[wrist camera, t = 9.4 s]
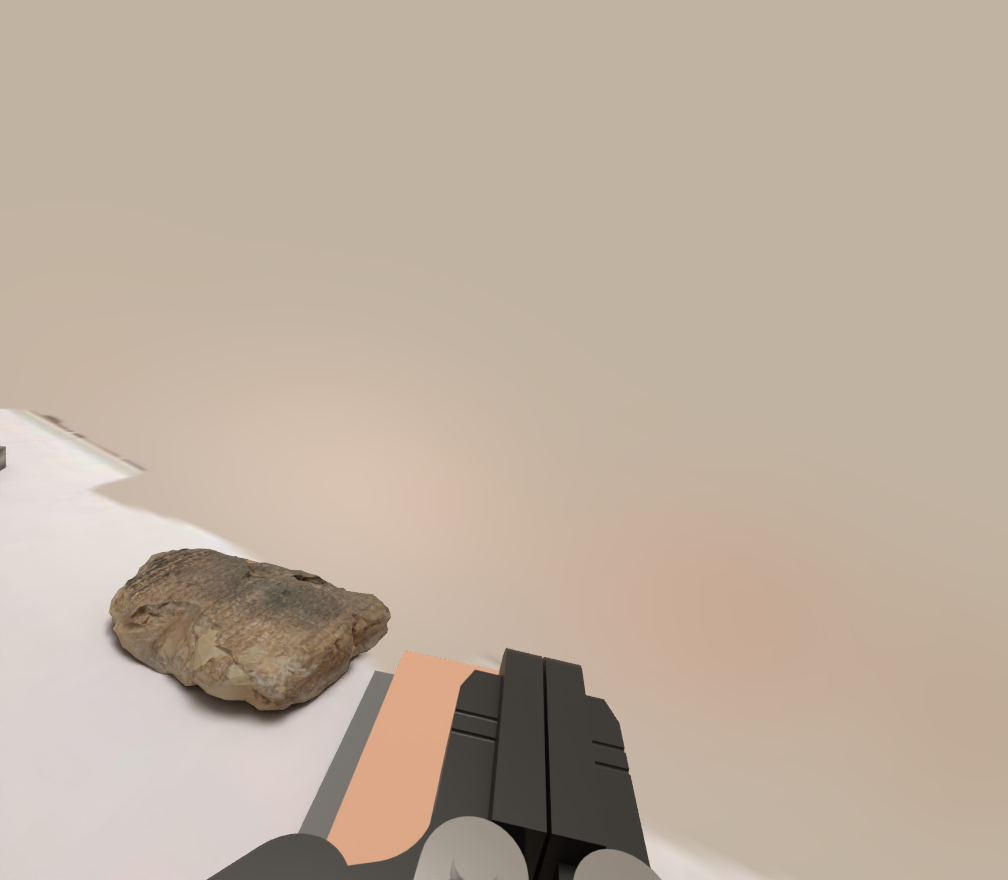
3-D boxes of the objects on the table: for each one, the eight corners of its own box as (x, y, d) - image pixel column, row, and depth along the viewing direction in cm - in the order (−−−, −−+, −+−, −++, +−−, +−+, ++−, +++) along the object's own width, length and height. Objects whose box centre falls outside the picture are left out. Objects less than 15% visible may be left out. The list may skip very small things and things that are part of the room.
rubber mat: (217, 1013, 19) (218, 1001, 19) (374, 677, 37) (375, 670, 37) (638, 1108, 19) (642, 1097, 18) (585, 723, 37) (587, 716, 37)
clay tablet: (50, 630, 36) (270, 747, 30) (52, 568, 35) (279, 675, 29) (219, 564, 49) (395, 636, 43) (223, 517, 48) (403, 584, 42)
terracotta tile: (314, 867, 21) (404, 650, 36) (307, 919, 22) (398, 684, 36) (596, 929, 21) (570, 685, 36) (580, 979, 21) (561, 719, 36)
